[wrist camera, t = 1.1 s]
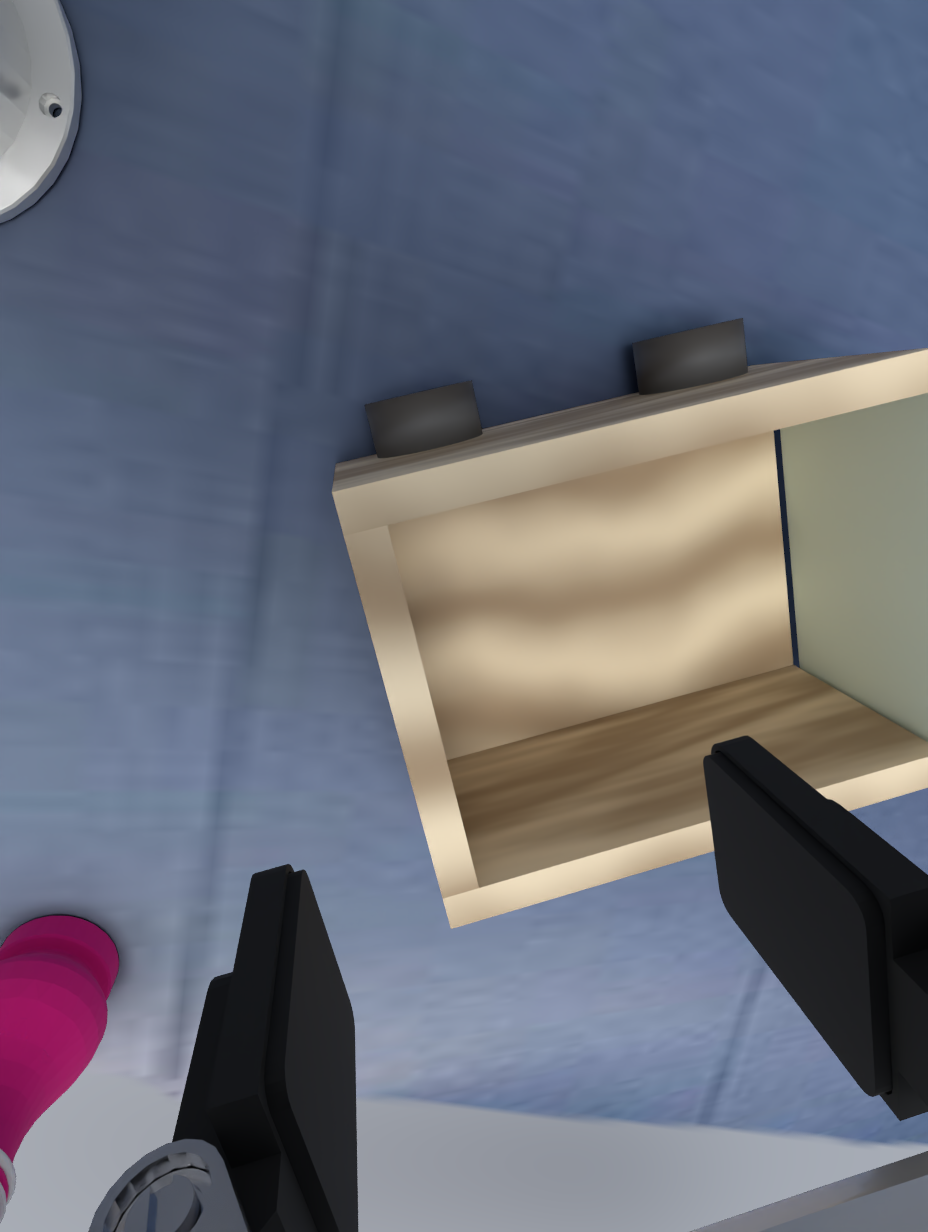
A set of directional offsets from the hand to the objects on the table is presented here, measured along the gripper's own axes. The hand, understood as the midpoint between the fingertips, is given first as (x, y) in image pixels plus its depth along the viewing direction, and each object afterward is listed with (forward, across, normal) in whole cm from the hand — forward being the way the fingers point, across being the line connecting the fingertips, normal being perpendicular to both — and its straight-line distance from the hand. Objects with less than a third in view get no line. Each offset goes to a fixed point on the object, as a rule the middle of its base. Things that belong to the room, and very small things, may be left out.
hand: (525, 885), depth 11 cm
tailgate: (+26, -21, +4) cm, 34 cm away
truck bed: (+28, -9, +4) cm, 29 cm away
